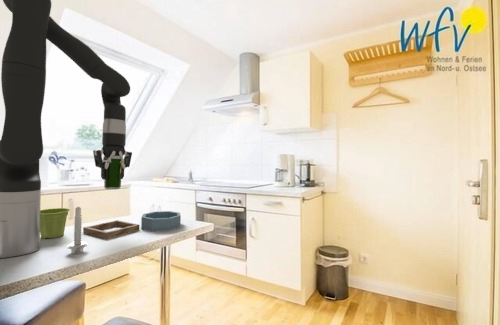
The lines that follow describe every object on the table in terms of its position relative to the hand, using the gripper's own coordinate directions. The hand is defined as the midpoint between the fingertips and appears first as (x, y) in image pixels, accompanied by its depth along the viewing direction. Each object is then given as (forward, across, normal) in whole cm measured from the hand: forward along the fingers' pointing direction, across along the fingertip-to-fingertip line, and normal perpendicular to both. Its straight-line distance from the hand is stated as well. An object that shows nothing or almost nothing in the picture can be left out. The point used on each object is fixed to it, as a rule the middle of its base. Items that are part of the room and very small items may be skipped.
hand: (112, 178), depth 93 cm
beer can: (+4, 0, 0) cm, 4 cm away
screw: (+20, -18, -11) cm, 29 cm away
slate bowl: (+19, +15, -9) cm, 26 cm away
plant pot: (+20, -14, +11) cm, 26 cm away
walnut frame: (+19, 0, 0) cm, 19 cm away
